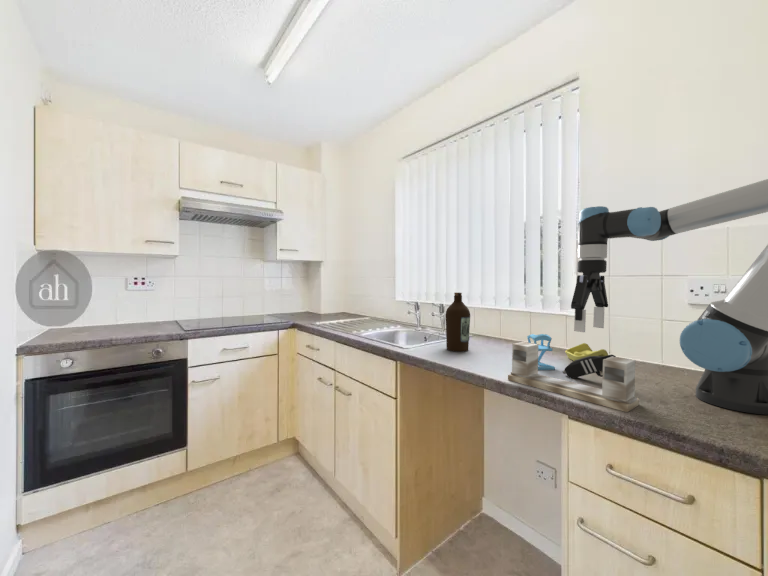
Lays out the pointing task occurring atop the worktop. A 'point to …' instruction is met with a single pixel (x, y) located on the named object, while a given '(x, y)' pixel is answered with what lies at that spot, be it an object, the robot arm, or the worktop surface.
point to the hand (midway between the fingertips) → (589, 329)
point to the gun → (586, 366)
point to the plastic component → (583, 352)
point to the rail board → (614, 383)
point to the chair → (542, 349)
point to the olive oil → (457, 325)
